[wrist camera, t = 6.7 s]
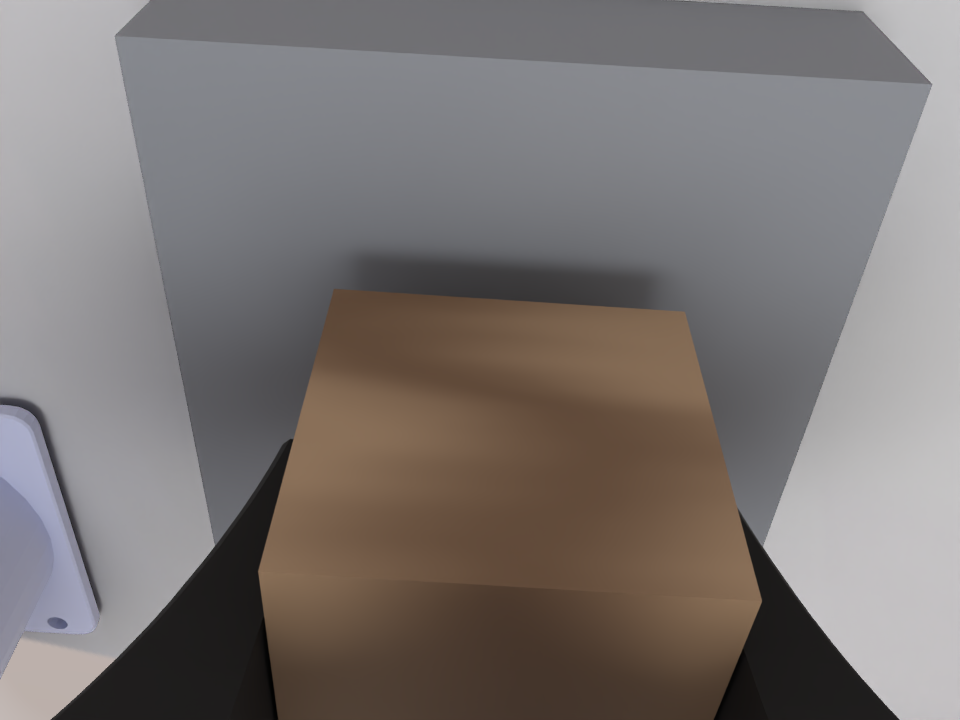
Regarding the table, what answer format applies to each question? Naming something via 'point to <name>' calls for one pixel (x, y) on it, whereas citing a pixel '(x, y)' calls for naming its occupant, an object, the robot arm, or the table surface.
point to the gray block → (513, 188)
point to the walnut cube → (504, 519)
